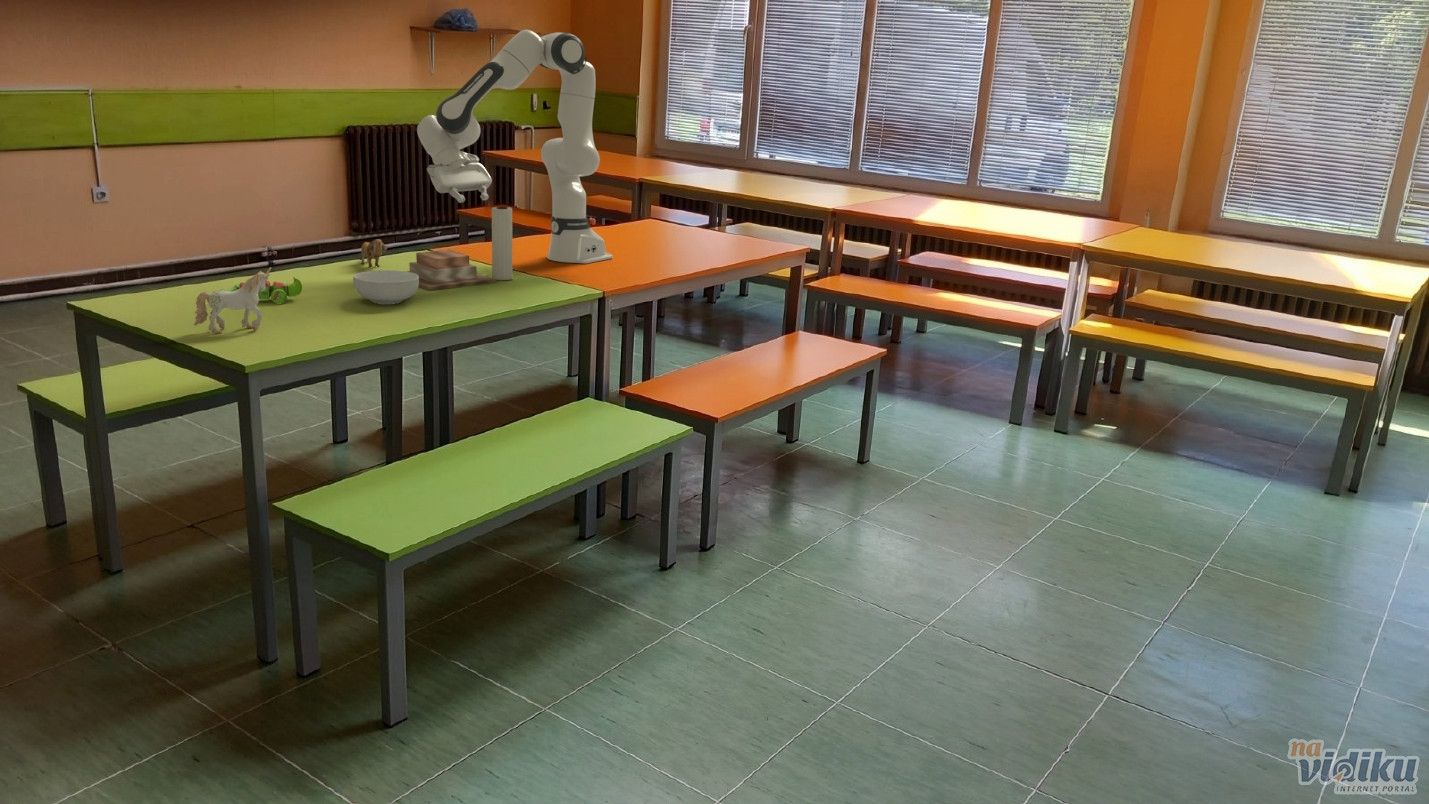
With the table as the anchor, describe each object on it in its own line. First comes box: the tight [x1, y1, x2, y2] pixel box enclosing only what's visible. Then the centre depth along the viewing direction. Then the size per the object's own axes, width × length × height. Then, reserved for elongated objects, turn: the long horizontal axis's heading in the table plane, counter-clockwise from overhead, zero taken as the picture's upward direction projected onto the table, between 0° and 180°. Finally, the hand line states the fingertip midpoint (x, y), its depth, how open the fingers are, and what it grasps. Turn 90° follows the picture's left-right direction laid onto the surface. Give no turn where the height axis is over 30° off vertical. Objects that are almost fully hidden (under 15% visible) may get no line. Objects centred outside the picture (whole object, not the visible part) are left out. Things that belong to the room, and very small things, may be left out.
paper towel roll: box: [491, 205, 513, 281], centre depth 314 cm, size 7×6×21 cm
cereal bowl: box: [352, 269, 419, 305], centre depth 282 cm, size 17×17×7 cm
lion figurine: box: [359, 238, 389, 269], centre depth 323 cm, size 15×5×9 cm, turn 45°
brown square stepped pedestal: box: [405, 249, 497, 291], centre depth 311 cm, size 22×22×8 cm
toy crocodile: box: [220, 276, 303, 305], centre depth 274 cm, size 20×7×6 cm, turn 112°
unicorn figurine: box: [193, 267, 272, 335], centre depth 246 cm, size 7×20×13 cm, turn 137°
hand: (474, 200), depth 317 cm, fingers open, 8 cm apart
